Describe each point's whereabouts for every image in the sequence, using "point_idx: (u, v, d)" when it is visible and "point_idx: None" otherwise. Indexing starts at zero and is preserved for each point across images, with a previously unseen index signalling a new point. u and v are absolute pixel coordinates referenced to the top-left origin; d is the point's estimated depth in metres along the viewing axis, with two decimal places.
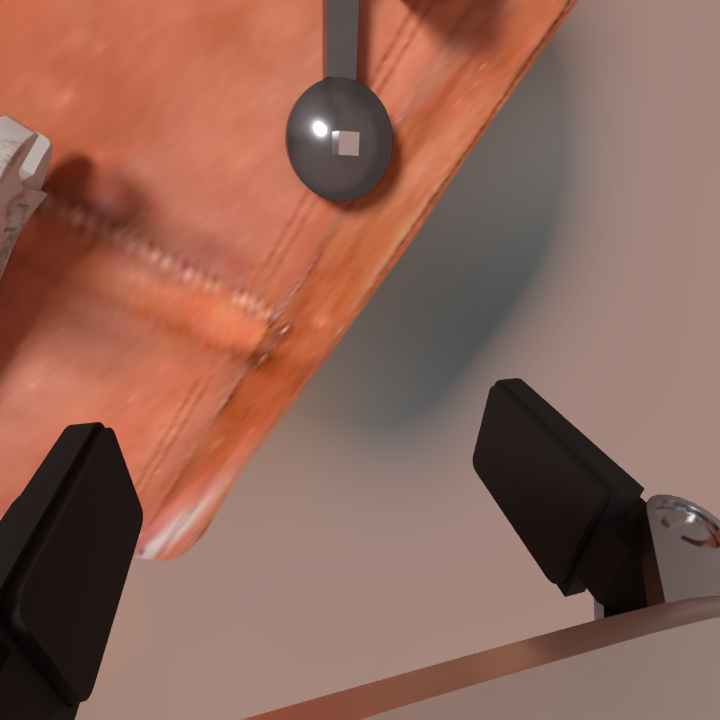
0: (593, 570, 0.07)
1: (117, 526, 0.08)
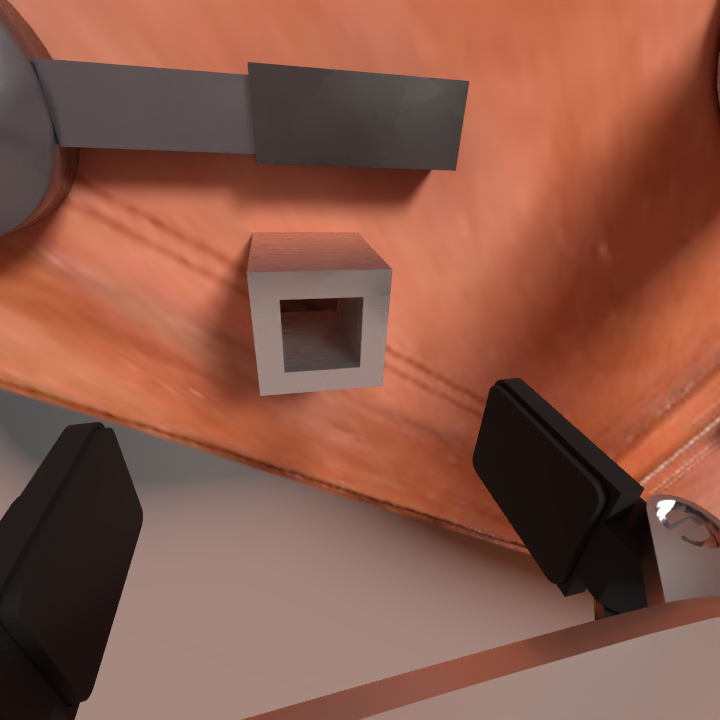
0: (593, 570, 0.07)
1: (117, 526, 0.08)
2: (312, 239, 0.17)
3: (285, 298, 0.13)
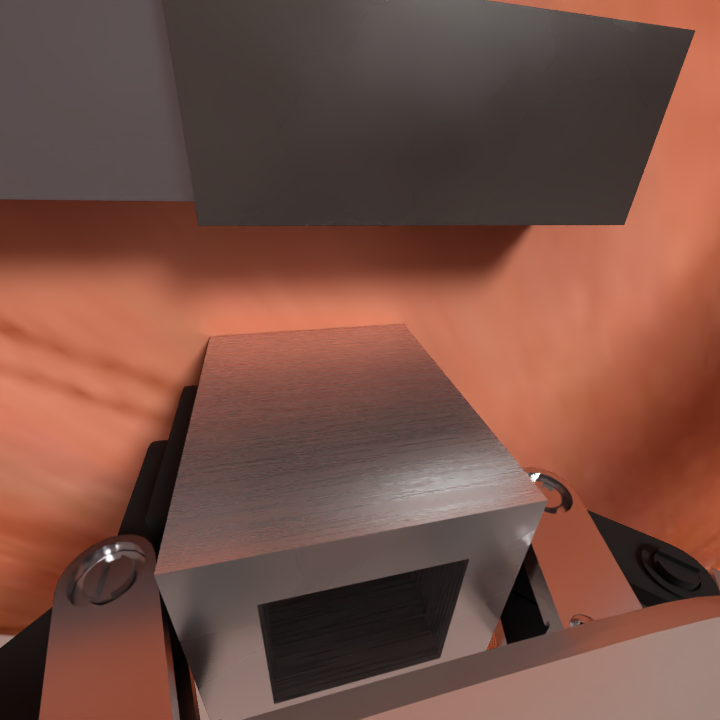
0: None
1: None
2: (325, 354, 0.09)
3: (273, 599, 0.05)
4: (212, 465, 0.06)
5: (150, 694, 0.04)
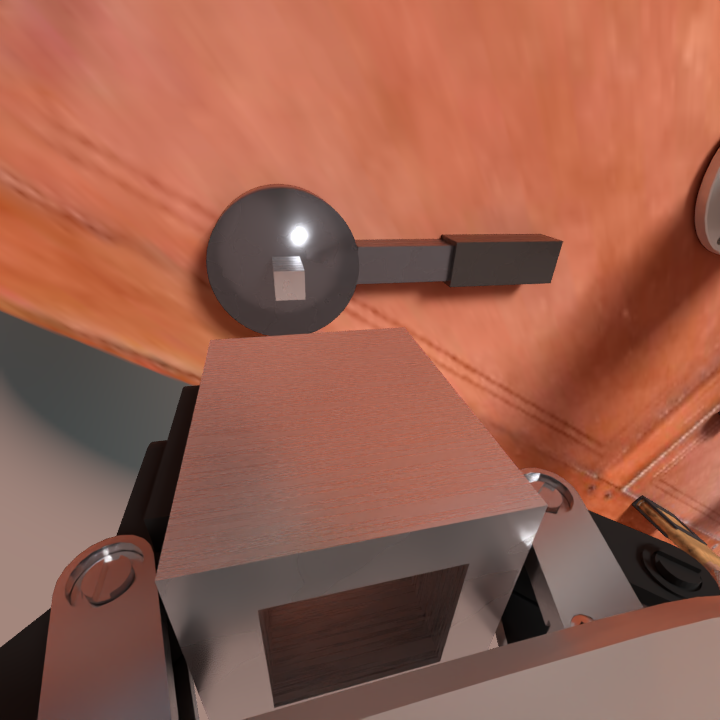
0: None
1: None
2: (325, 357, 0.09)
3: (273, 604, 0.05)
4: (212, 470, 0.06)
5: (149, 694, 0.04)
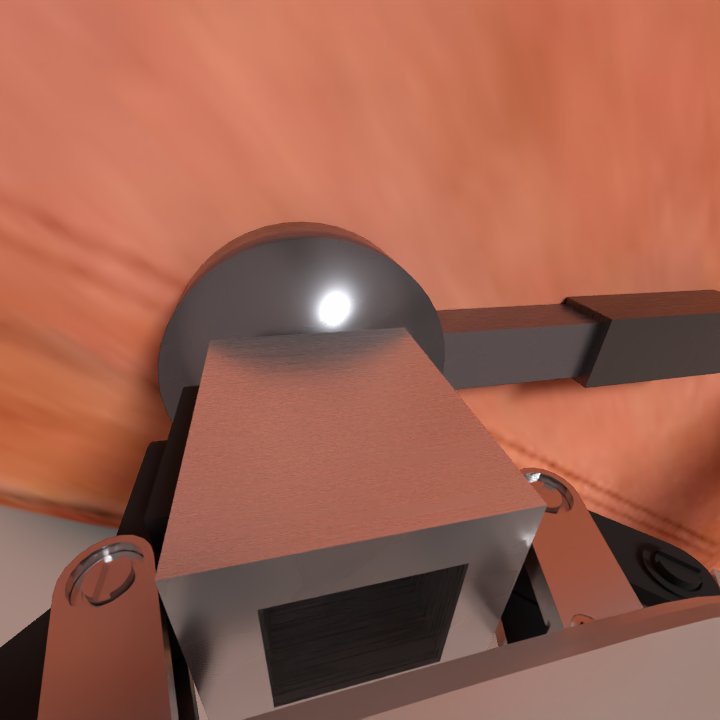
0: None
1: None
2: (325, 357, 0.09)
3: (273, 604, 0.05)
4: (212, 470, 0.06)
5: (149, 694, 0.04)
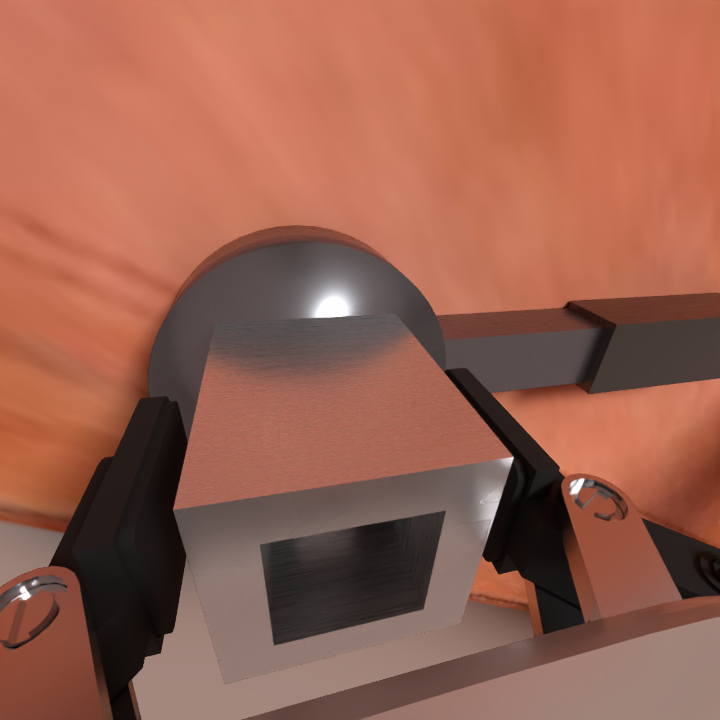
0: (518, 546, 0.08)
1: None
2: (321, 338, 0.09)
3: (273, 539, 0.06)
4: (220, 428, 0.06)
5: None
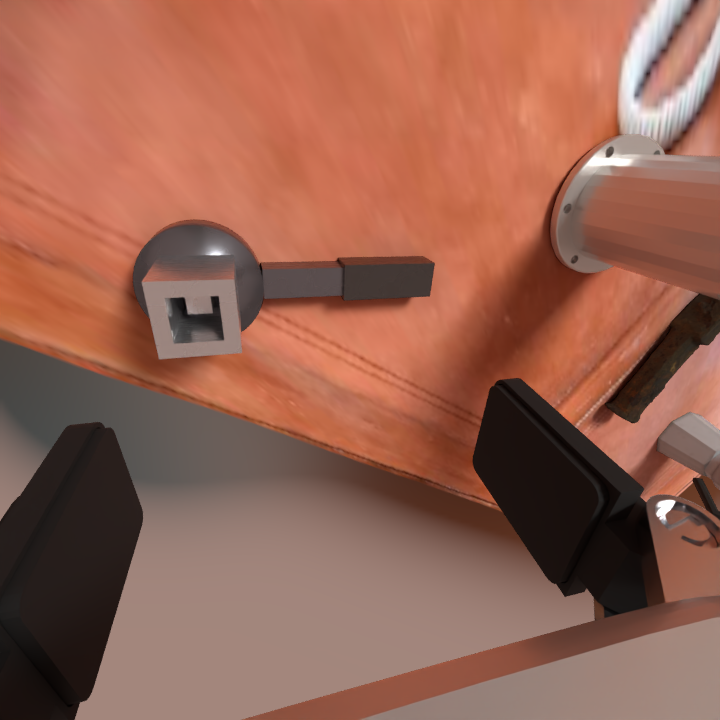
0: (593, 570, 0.07)
1: (117, 526, 0.08)
2: (198, 260, 0.26)
3: (168, 297, 0.22)
4: (155, 273, 0.23)
5: None
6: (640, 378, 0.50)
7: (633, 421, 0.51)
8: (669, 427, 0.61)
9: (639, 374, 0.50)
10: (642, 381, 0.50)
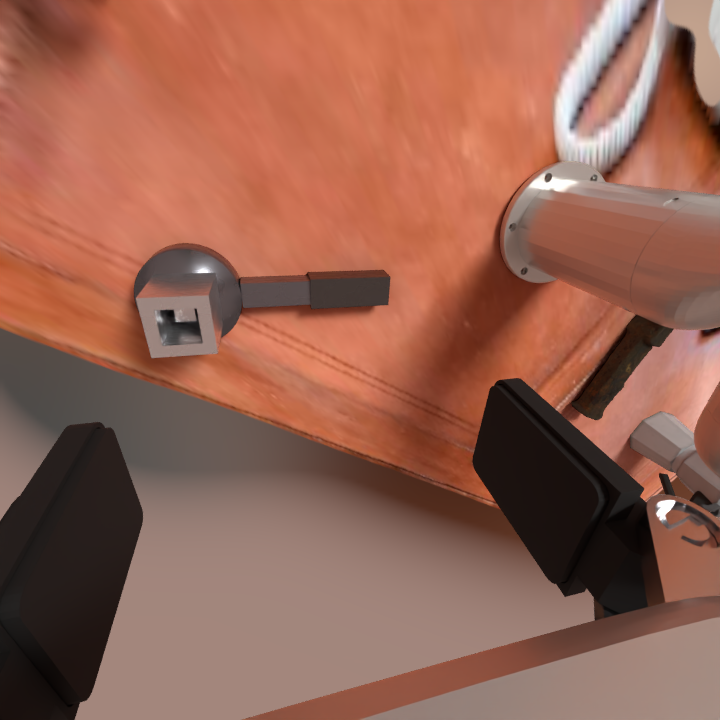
0: (593, 570, 0.07)
1: (117, 526, 0.08)
2: (184, 277, 0.32)
3: (156, 309, 0.28)
4: (147, 290, 0.29)
5: None
6: (600, 378, 0.54)
7: (595, 418, 0.55)
8: (640, 425, 0.64)
9: (599, 375, 0.54)
10: (601, 381, 0.54)
